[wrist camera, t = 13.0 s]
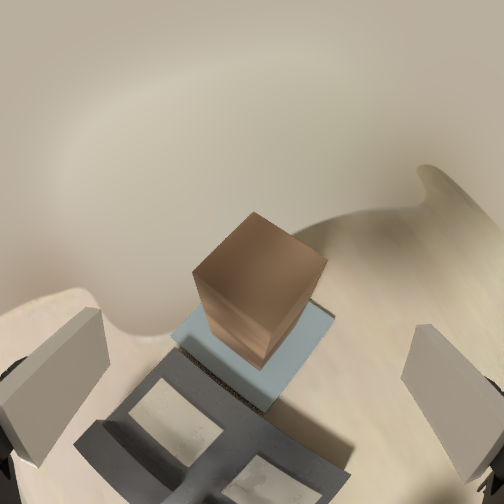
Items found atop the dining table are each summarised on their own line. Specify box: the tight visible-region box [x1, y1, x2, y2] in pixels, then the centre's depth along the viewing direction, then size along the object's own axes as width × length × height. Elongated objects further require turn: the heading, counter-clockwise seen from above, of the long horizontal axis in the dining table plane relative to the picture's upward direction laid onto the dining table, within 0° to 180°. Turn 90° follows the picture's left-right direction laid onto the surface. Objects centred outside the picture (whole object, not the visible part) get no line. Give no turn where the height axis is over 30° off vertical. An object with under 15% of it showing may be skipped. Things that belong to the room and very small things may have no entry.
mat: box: [170, 301, 335, 413], centre depth 25 cm, size 10×10×1 cm
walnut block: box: [192, 212, 328, 371], centre depth 20 cm, size 5×5×11 cm
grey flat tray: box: [73, 347, 351, 504], centre depth 17 cm, size 17×12×5 cm
